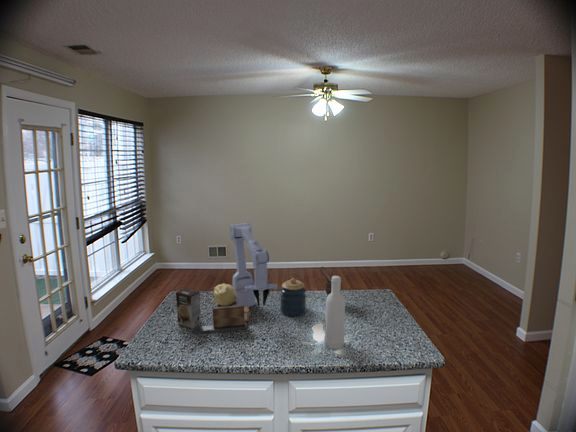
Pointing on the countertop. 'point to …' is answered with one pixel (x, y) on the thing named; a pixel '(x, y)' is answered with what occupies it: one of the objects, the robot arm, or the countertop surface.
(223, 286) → the sculpture
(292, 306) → the canister
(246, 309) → the cube
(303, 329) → the countertop surface
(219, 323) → the panel
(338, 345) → the bottle
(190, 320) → the coffee box
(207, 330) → the rail
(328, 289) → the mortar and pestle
